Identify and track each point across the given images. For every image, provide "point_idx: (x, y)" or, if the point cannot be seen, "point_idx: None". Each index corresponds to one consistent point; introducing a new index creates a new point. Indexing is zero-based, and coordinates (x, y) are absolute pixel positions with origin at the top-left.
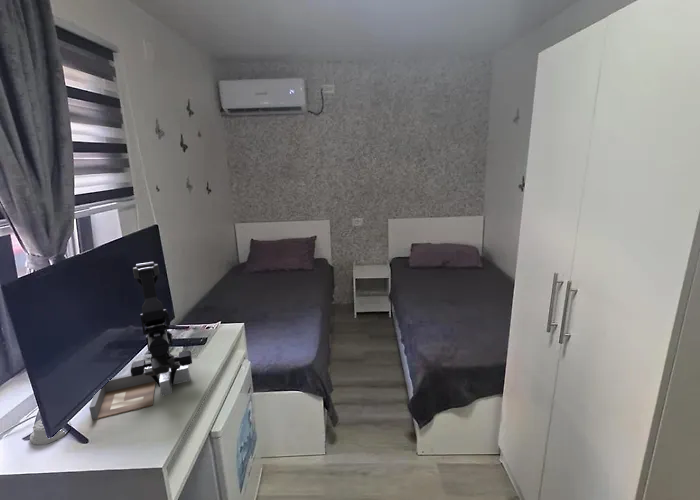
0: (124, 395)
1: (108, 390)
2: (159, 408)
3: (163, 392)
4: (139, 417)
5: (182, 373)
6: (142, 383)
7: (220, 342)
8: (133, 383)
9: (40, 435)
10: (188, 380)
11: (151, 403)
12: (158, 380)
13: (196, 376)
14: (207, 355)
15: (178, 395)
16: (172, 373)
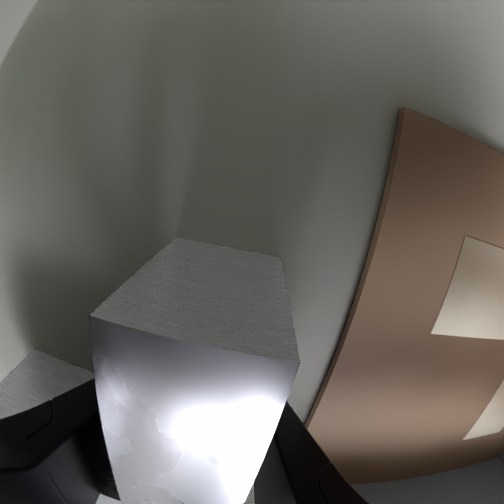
0: (488, 406)
1: (494, 462)
2: (338, 14)
3: (254, 264)
4: (483, 28)
5: None
6: (359, 487)
7: None
8: (407, 492)
9: None
10: (42, 355)
11: (408, 139)
12: (280, 451)
13: (10, 365)
14: None
15: (117, 146)
16: (36, 437)
